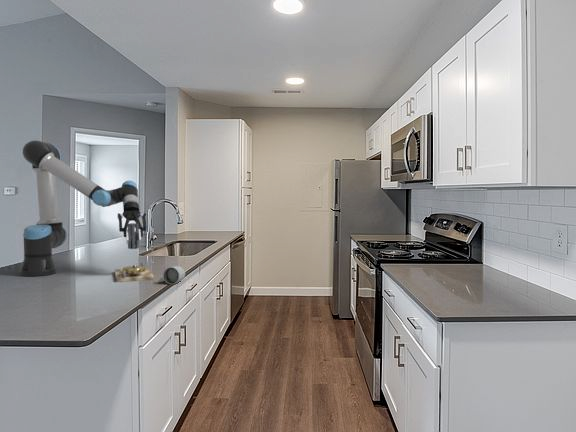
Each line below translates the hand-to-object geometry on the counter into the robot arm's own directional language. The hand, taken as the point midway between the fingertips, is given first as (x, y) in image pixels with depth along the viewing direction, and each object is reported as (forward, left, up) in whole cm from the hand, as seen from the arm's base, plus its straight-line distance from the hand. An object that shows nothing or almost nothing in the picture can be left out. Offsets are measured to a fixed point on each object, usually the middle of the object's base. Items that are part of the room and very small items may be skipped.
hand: (133, 241), depth 203 cm
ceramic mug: (+14, -20, -17) cm, 30 cm away
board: (0, +2, -17) cm, 17 cm away
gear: (0, -5, -15) cm, 16 cm away
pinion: (0, +4, -4) cm, 5 cm away
